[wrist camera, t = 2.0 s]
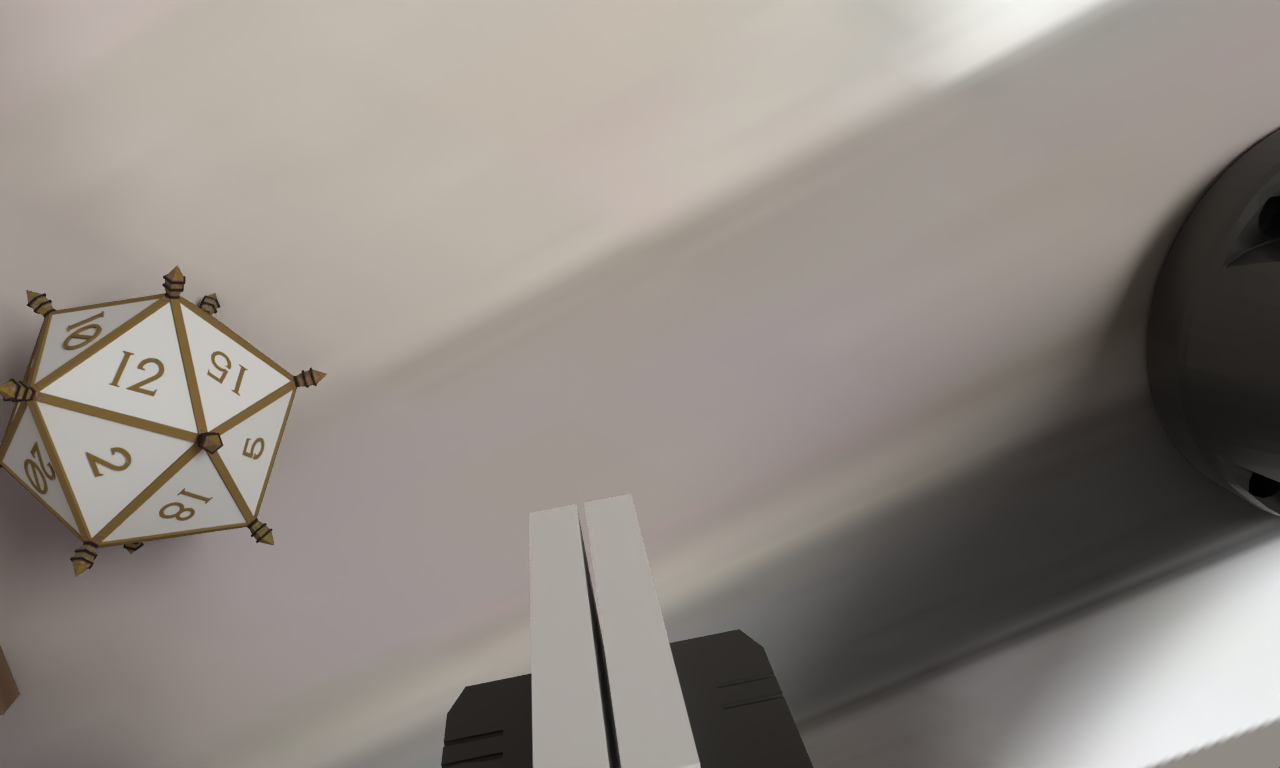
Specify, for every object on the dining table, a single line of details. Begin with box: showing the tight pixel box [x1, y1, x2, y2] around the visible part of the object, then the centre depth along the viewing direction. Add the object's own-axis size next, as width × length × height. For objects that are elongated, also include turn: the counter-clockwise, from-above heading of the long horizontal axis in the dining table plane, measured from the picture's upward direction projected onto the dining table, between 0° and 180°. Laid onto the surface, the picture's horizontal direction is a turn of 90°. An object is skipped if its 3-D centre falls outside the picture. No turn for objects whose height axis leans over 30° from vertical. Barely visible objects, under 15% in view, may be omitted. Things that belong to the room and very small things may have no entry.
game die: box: [0, 265, 326, 577], centre depth 29 cm, size 9×8×10 cm
